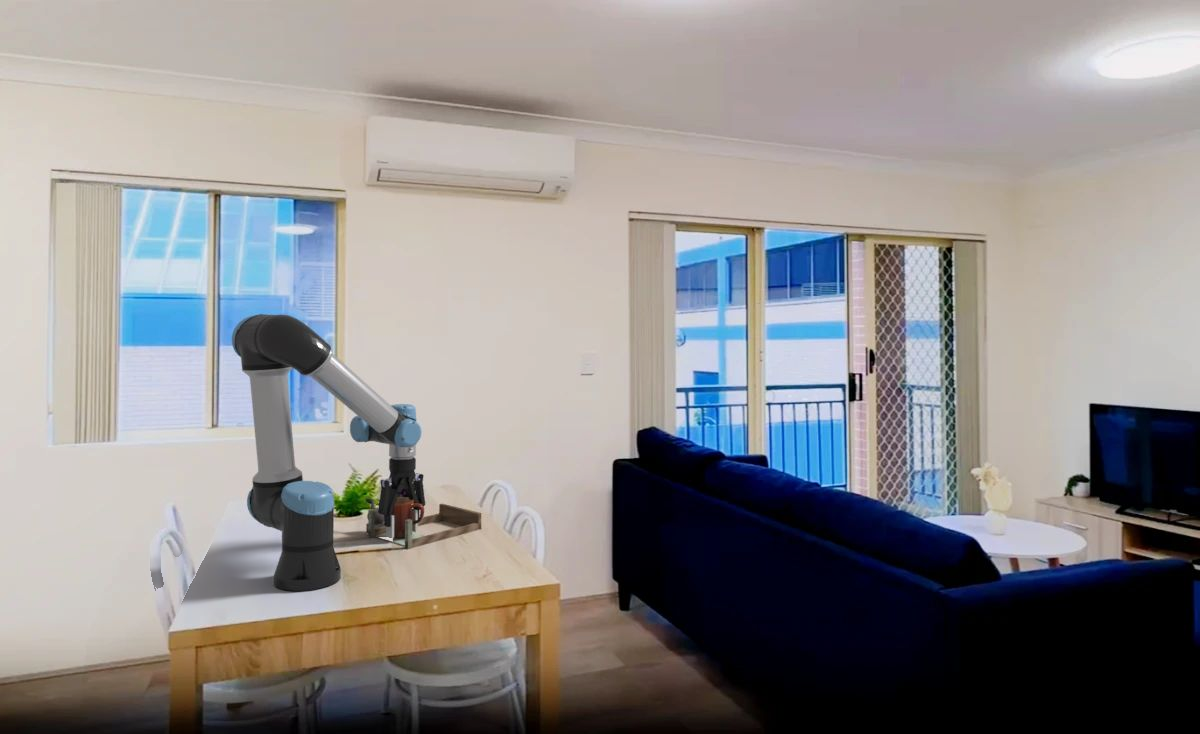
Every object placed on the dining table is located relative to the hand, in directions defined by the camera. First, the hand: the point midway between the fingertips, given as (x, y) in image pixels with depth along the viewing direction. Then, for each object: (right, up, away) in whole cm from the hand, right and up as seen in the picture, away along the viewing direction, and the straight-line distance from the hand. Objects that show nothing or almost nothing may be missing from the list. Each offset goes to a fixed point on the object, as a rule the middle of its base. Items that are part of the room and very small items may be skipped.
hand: (402, 534), depth 214 cm
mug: (0, -1, +1) cm, 1 cm away
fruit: (-12, +1, +45) cm, 46 cm away
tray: (+3, -1, +9) cm, 10 cm away
